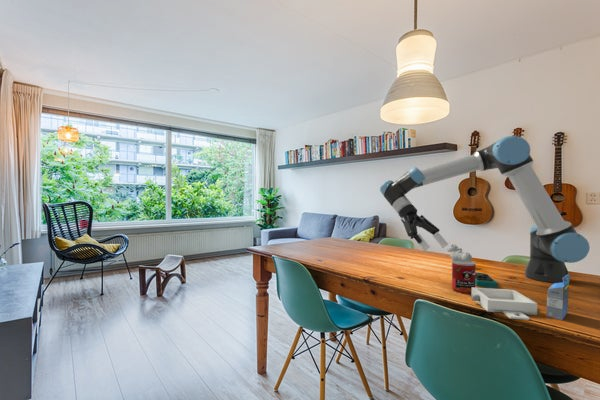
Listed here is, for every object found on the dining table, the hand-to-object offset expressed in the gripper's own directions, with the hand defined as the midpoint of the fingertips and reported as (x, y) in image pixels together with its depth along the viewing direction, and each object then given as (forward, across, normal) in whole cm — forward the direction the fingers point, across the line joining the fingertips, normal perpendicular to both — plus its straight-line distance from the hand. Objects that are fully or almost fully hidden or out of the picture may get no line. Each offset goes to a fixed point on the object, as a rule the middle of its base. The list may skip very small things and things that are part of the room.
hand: (436, 247), depth 120 cm
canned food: (+18, 0, -3) cm, 18 cm away
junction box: (+28, +6, +8) cm, 30 cm away
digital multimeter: (+18, -18, -4) cm, 26 cm away
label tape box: (+38, 0, +16) cm, 41 cm away
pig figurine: (+3, -41, -18) cm, 45 cm away
